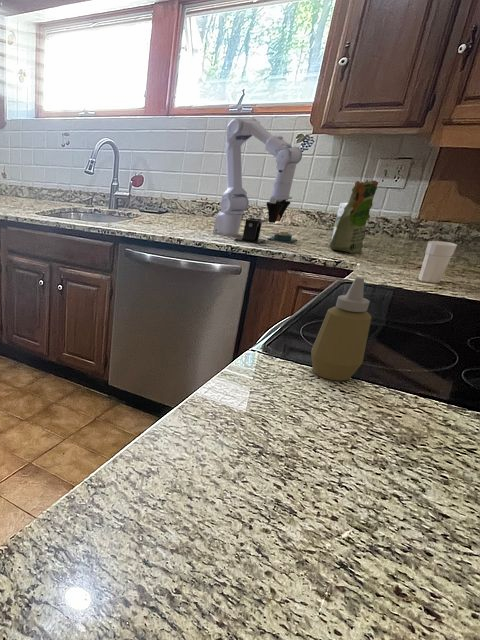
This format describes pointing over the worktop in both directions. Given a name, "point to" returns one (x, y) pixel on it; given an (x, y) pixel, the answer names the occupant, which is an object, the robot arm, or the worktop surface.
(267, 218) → the switch lever
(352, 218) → the pouch
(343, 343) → the squeeze bottle
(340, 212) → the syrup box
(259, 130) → the robot arm
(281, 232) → the button
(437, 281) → the cup
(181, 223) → the worktop surface
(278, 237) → the button block
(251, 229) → the switch bracket
